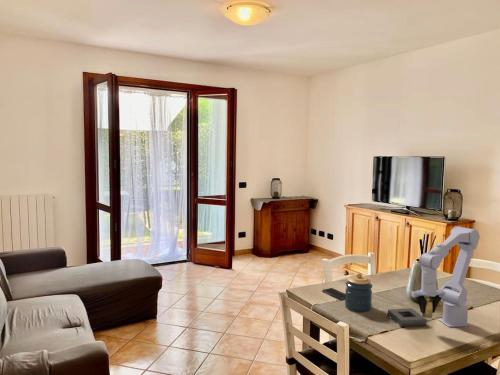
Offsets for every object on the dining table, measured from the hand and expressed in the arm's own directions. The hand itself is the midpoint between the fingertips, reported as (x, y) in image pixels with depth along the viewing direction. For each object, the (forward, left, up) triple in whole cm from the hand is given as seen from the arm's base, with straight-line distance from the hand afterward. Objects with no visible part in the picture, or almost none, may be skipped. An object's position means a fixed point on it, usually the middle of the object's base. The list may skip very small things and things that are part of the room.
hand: (427, 312), depth 162 cm
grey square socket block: (+3, -11, -8) cm, 14 cm away
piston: (0, 0, -2) cm, 2 cm away
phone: (+24, -46, -9) cm, 53 cm away
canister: (+19, -28, -9) cm, 35 cm away
